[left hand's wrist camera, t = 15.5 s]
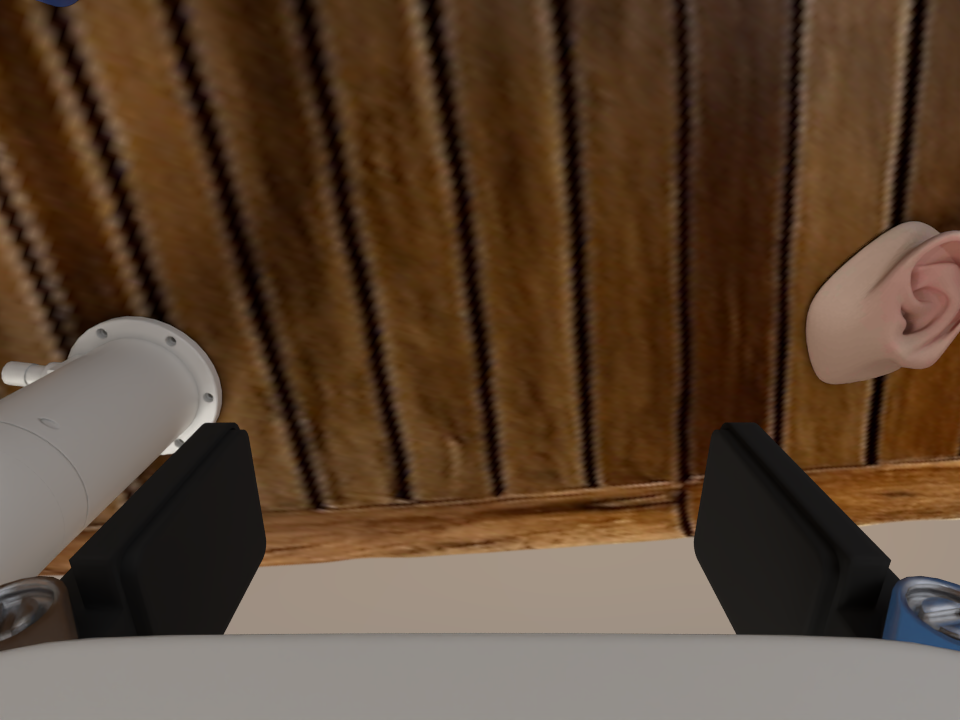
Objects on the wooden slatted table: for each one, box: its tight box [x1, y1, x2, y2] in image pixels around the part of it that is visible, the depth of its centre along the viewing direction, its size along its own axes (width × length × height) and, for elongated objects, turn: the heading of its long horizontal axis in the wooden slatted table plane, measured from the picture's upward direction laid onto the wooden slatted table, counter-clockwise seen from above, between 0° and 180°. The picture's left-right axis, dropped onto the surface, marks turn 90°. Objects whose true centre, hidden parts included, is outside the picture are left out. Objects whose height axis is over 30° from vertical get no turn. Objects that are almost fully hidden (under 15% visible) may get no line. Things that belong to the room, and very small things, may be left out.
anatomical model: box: [806, 221, 960, 384], centre depth 44 cm, size 13×4×12 cm
